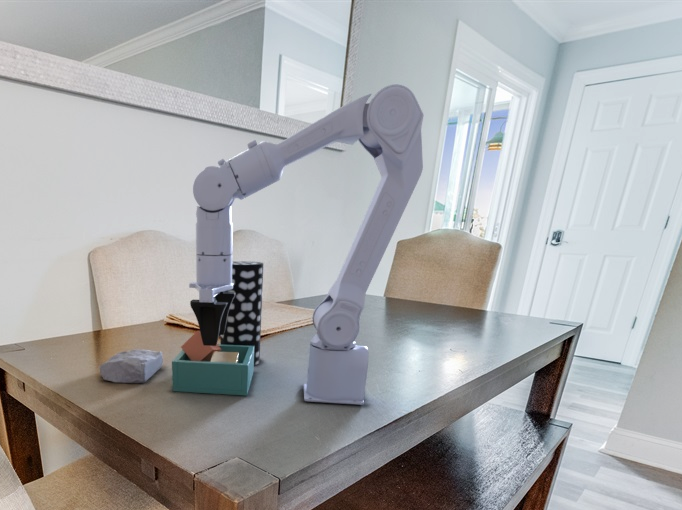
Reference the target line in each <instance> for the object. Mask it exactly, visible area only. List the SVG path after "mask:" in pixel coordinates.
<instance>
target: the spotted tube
mask: <svg viewBox="0 0 682 510" xmlns="http://www.w3.org/2000/svg"><path fill="white" fill-rule="evenodd" d="M232 283H233V289H231V290H227V291H226V292H235V297H234V299H233V301H232V303H231V306H230V309H229V313H228V318H227V323H226V328H225V332H224V335H220V337H219V338H220V341H219V343H220V344H221V345H243V346H254V366H256V365H258V364H260V361H261V337H262V335H261V334H262V310H263V309H262V308H263V288H264V262H261V261H245V260H244V261H243V260H241V261H240V260H239V261H238V260H237V261H233V260H232Z"/></svg>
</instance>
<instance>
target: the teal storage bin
mask: <svg viewBox="0 0 682 510" xmlns="http://www.w3.org/2000/svg"><path fill="white" fill-rule="evenodd" d="M217 344H218V346H219V347H220V348H221V349H222V350H221V351H220V352H238V353H239V363H225V362H210V361H211V360H210V361H209V362H205V361H191V360H190V358H189V357H188V356H187V354H186V353H185V352H184V351H183V349H181V350H180V352H179V353H178V354H177V355H176V356H175V357H174V358H173V360H172V361H171V377H172V378H171V379H172V380H171V381H172V382H171V383H172V392H182V393H197V394H211V395H212V394H215V395H231V396H246V397H247V396H248V394H249V391H250V386H251V384H252V379H253V376H254V368H255V367H254V366H255V365H254V346H243V345H221V344H219V343H217Z"/></svg>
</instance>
